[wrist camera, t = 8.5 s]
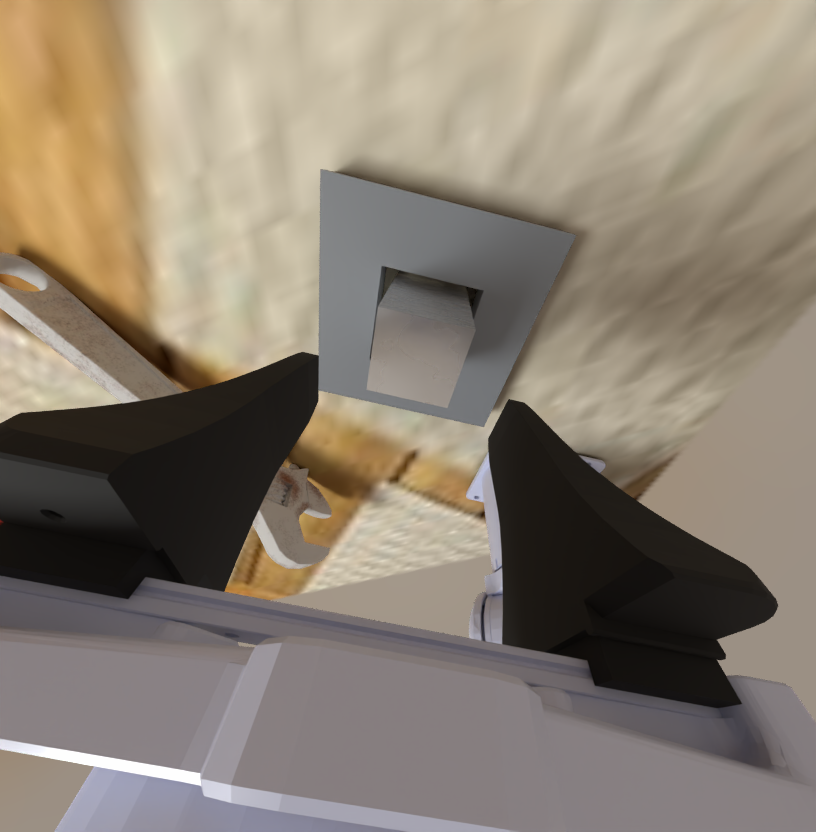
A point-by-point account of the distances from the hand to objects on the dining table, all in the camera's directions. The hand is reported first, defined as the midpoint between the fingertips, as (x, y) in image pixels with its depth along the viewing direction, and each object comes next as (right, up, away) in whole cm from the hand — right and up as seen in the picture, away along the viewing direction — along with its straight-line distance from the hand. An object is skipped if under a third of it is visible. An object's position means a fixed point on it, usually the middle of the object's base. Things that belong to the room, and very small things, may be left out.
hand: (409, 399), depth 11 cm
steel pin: (+1, +6, +7) cm, 9 cm away
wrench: (-16, 0, +14) cm, 22 cm away
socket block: (+1, +6, +7) cm, 9 cm away
